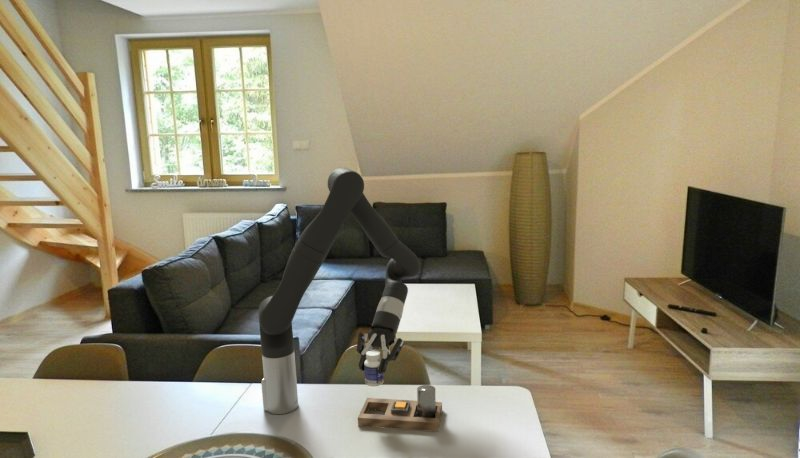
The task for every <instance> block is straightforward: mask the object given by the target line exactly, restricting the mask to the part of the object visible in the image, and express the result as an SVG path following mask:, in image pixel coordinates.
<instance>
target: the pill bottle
mask: <svg viewBox="0 0 800 458" xmlns="http://www.w3.org/2000/svg"><path fill="white" fill-rule="evenodd" d="M381 357H382V356H381V351H380V350H379V349H375V350H370V351H368V352H366V358H367V359H366V360H365V362H364V383H365V384H366V386H368V387H379V386H381V385H383V383H385V379H384V377H385V376H384V373H383V374H380V373H379V372H378V369H379V366H380V363H381V359H382V358H381Z"/></svg>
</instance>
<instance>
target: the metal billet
mask: <svg viewBox="0 0 800 458" xmlns="http://www.w3.org/2000/svg"><path fill="white" fill-rule="evenodd" d="M416 390H417V391H416V392H417V393H416V394H417V395H416V397H417V399H416V401H417V405H418V413H417V417H424V418H435V416H436V402H437V401H436V399H437V398H436V387H435V386H433V385H431V384H422V385H419V386H418V387H417V388H416Z"/></svg>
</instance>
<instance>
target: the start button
mask: <svg viewBox="0 0 800 458" xmlns="http://www.w3.org/2000/svg"><path fill="white" fill-rule="evenodd" d="M395 409H406V402H396V405H395Z"/></svg>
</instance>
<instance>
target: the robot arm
mask: <svg viewBox="0 0 800 458" xmlns="http://www.w3.org/2000/svg"><path fill="white" fill-rule="evenodd" d="M327 188H328V191H329V192H328V193H329V194H328V196H327V198H326V199H325V201H324V204H323V206H322V208H321V209H320V211H319V213H318V214H317V215H316V216H315V217H314V219H312V220H311V222H310V223H309V224H308V225H307V226H306V227H305V228H304V230H302V233H301V234H300V235H299V237H298V239H297V241H296V242H295V245H294V246H293V248H292V250H291V252H290V255H289V257H288V260H287V262H286V266H285V267H284V268H285V269H284V271H283V275H282V279H281V281H280V283H279V285H278V287H277V289H276V291H275V292H274V293H273V295H270V296H268V297H266V298H264V299H263V300H262V302H260V304H259V307H258V310H257V311H258V324H259V335H260V336H259V337H260V338H259V339H260V349H261V359H262V370H263V371H262V372H263V378H262V379H261V382H260V383H261V394H262V404H263V411H266V412H268V413H269V414H274V415H285V414H288V413H291V412H293V411H294V410H296V409H297V408H298V406H299V396H298V385H297V384H298V383H297V370H296V369H297V368H296V357H295V355H296V354H295V343H294V341H295V340H294V333H293V319H294V317H295V315H296V313H297V310H298V308H299V305H300V303H301V301H302V299H303V298H304V295H305V293H306V291H307V289H309V286H310V285H311V284H312V282H313V280H315V279H314V278H315V277H316V275H317V273H319V272H318V271H319V270H320V268H321V267H322V266H323V264H324V261H325V259H326V258H327V256H328V254H329V252H330V250H331V248H332V246H333V244H334V242H335V240H336V238H337V237H338V235H339V232H340V231H341V228H342V227H343V225H344V222H345V221H346V219H347V218H348V217H349V215H350V213H351V215H352V217H353V218H354V219H355V220H356V222H357V223H358V225H359V226H360V228H361V229H362V230H363V232H364V233H365V235H366V236H367V238H368V239H369V241H370V242H371V243H372V245H373V246H374V248H375V249H376V250H377V252H378V253H379V254H380V255H381V256H382V258H383V257H384V258H387V259H390V260H389V261H388V262H387V264H386V266H385V278H384V279H385V280H384V281H385V284H384V289H383V292H382V294H381V298H380V300H379V302H378V305H377V308H376V311H375V314H374V317H373V320H372V323H371V328H370V330H369V331H368V333H363V332H362V331H360V332H359V333H358V336H357V345H356V352H357V353H358V354H359V355H360V359H359V362H358V368H359V370H360V371H363V372H365V370H364V362H365V360H366V359H367V358H366V352H368V351H370V350H381V351H382V358H381V363H380V366H379V369H378V372H379V373H380V374H383V373H386V371H387V368H388V365H389V362H391V361H393V362H394V361H397V359H398V357H399V355H400V353H401V351H402V348H403V347H404V345H405V341H404V340H403V339H402V338H401V337H398V338H397V337H396V336H397V334H398V329H399V328H400V327H399V326H400V323H401V319H402V318H403V313H404V306H405V302H406V300H407V296H408V292H409V288H408V286H407V285H406V284H405V283H404V282H402V281H403V279H410V278H414V277H416V276H418V274H419V273H420V272H421V263H420V259H419V257H418V256H417V255H416V254H415V253H414V251H412V250H411V249H410V248H409V247H407V245H406V244H404V243H403V242H402V241H400V240H399V238H398V236H396V233H395V232H394V231H393V229H392V228H391V227H390V226H389V224H388V223H387V222H386V221H385V219H384V218H383V217H382V216H381V215H380V214H379V213H378V211H377V210H376V209H375V208H374V207H373V205H372V204H371V203H370V201H369V200H368V199H367V197H366V195H365V194H364V191H365V181H364V179H363V177H362V175H361V174H360V173H358V172H356V171H355V170H352V169H350V168H346V167H344V168H343V167H341V168H339V167H338V168H336V169H334V170H333V171H332V172H331V173H330V174H329V175H328V178H327ZM367 339H368V341H367ZM366 342H367V343H366ZM393 344H394V346H393V348H392V349H391V348H390V347H391V345H393Z"/></svg>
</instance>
